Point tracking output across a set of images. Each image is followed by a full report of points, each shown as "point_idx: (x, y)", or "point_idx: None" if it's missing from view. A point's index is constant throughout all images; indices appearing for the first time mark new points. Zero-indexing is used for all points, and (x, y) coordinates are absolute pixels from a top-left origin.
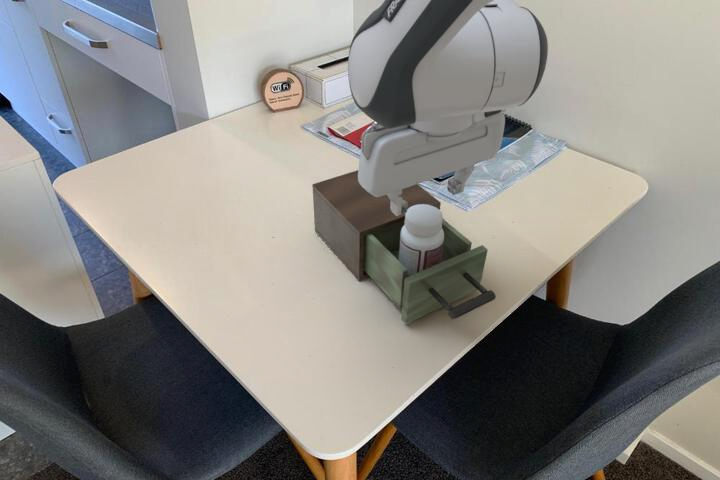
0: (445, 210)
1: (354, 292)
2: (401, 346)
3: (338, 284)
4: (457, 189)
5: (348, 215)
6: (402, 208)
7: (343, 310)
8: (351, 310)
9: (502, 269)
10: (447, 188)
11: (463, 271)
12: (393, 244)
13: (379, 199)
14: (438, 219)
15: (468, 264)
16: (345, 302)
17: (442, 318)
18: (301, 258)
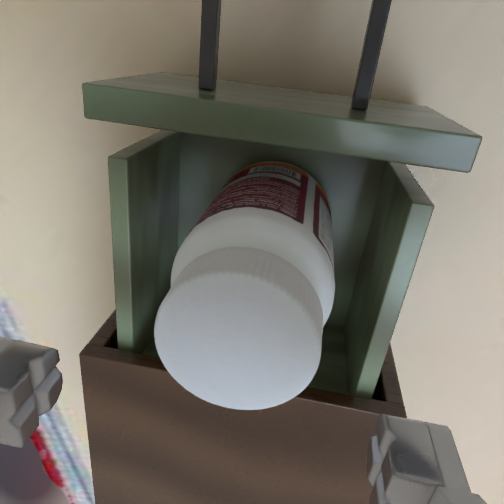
0: (47, 331)
1: (416, 280)
2: (486, 61)
3: (423, 320)
4: (20, 366)
5: (367, 481)
6: (427, 455)
7: (486, 255)
8: (471, 242)
9: (49, 98)
10: (57, 399)
11: (211, 91)
12: None
13: (234, 468)
14: (205, 290)
15: (185, 91)
16: (459, 270)
17: (315, 67)
18: (419, 419)
